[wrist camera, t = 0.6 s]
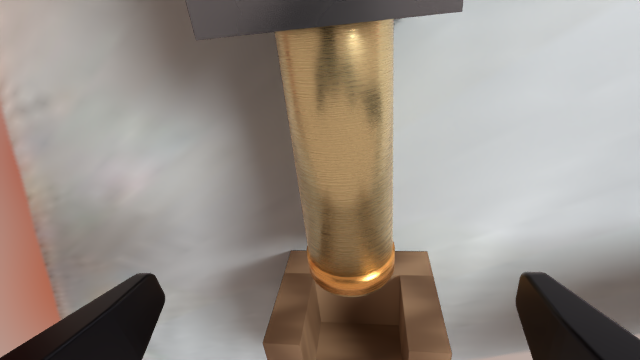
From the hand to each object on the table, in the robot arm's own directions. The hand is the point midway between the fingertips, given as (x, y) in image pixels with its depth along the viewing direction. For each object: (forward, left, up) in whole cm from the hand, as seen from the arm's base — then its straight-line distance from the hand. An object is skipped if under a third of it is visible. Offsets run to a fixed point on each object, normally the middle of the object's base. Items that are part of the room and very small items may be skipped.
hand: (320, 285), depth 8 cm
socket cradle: (0, +11, -11) cm, 16 cm away
